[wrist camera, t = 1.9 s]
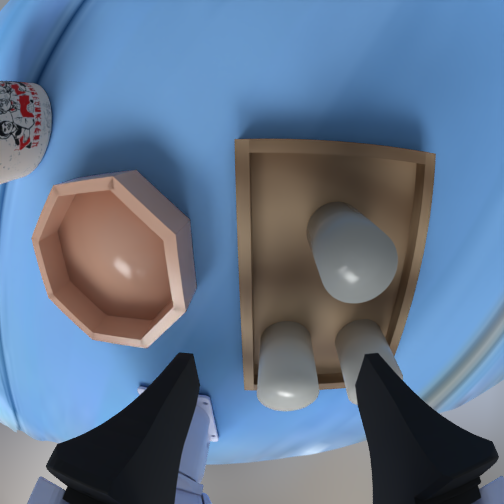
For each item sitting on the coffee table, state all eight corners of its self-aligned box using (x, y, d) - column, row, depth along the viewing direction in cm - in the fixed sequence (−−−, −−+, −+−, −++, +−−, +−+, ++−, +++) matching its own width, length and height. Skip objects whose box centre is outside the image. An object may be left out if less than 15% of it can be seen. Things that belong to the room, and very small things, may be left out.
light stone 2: (374, 354, 22) (392, 401, 16) (331, 357, 22) (342, 408, 17) (385, 317, 20) (410, 364, 15) (338, 320, 20) (355, 370, 15)
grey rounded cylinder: (361, 260, 18) (389, 301, 13) (304, 259, 19) (316, 304, 14) (367, 202, 17) (403, 228, 12) (307, 200, 17) (323, 226, 12)
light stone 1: (308, 358, 22) (314, 410, 17) (260, 358, 22) (256, 410, 17) (313, 320, 20) (323, 372, 15) (260, 320, 21) (256, 373, 16)
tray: (378, 370, 23) (383, 383, 21) (246, 375, 24) (244, 389, 22) (422, 151, 16) (435, 153, 14) (238, 139, 17) (234, 139, 15)
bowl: (202, 327, 22) (193, 353, 19) (79, 314, 23) (62, 333, 20) (186, 165, 17) (170, 170, 14) (48, 183, 18) (23, 191, 15)
